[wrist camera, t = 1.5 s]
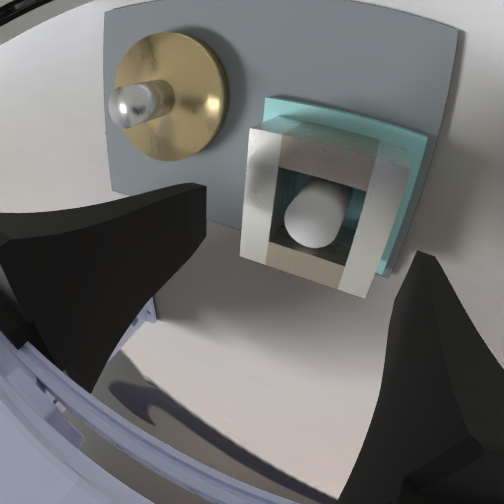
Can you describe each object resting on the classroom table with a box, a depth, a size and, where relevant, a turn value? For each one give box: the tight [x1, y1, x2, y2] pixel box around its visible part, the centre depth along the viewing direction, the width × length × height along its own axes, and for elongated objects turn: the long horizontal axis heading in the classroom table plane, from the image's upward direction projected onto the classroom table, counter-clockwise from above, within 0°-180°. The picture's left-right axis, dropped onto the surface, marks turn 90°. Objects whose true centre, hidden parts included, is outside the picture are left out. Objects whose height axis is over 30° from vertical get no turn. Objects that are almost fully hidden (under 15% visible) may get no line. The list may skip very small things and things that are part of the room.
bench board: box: [103, 0, 458, 278], centre depth 15 cm, size 12×18×1 cm
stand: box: [263, 96, 428, 274], centre depth 13 cm, size 7×7×4 cm
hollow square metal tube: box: [240, 115, 410, 299], centre depth 13 cm, size 6×6×3 cm
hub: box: [108, 32, 230, 162], centre depth 14 cm, size 7×7×4 cm
